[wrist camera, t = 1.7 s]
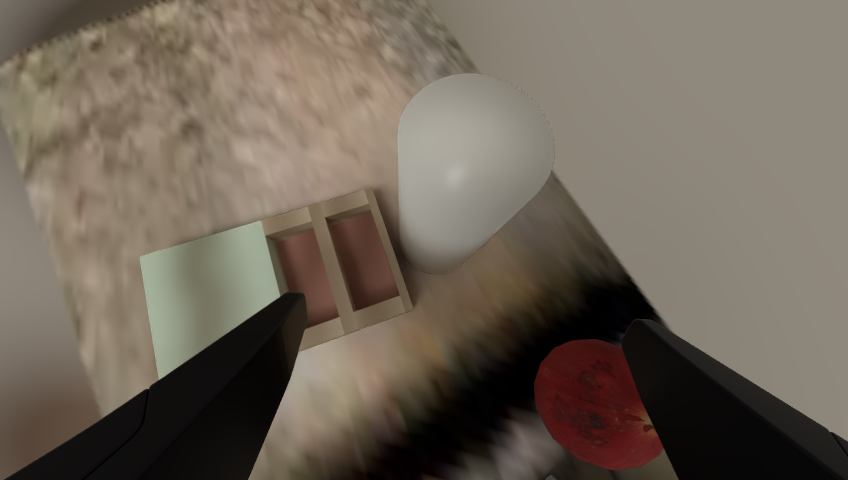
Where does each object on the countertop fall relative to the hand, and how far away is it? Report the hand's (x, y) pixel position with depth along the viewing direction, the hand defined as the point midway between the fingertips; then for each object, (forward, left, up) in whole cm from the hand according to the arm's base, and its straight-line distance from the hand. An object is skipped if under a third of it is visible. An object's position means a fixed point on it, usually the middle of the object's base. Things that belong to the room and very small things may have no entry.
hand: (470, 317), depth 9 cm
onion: (0, -9, -12) cm, 15 cm away
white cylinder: (+5, +2, -12) cm, 13 cm away
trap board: (-2, +9, -12) cm, 15 cm away
